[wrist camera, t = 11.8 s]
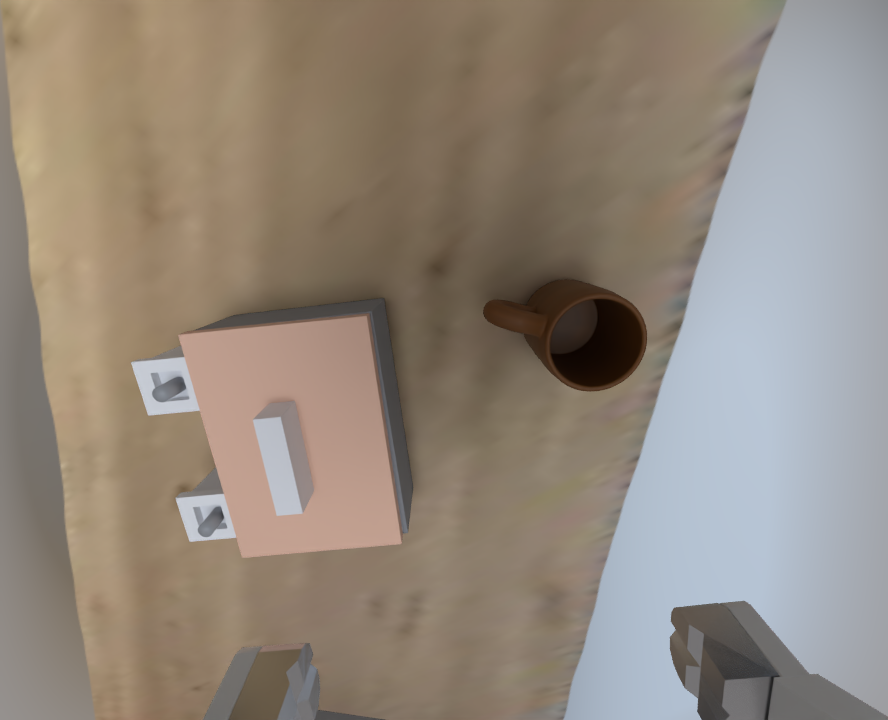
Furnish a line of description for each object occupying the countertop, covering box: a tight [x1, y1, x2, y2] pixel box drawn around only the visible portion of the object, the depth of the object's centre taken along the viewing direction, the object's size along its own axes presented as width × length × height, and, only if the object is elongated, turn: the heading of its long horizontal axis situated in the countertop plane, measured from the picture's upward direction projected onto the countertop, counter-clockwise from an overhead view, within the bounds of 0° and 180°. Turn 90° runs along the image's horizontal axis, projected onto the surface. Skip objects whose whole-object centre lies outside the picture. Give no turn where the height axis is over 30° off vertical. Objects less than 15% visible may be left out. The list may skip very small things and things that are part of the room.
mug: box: [483, 279, 647, 391], centre depth 34 cm, size 12×8×9 cm, turn 75°
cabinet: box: [152, 298, 413, 537], centre depth 37 cm, size 20×18×9 cm
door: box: [131, 313, 403, 558], centre depth 33 cm, size 20×18×4 cm
